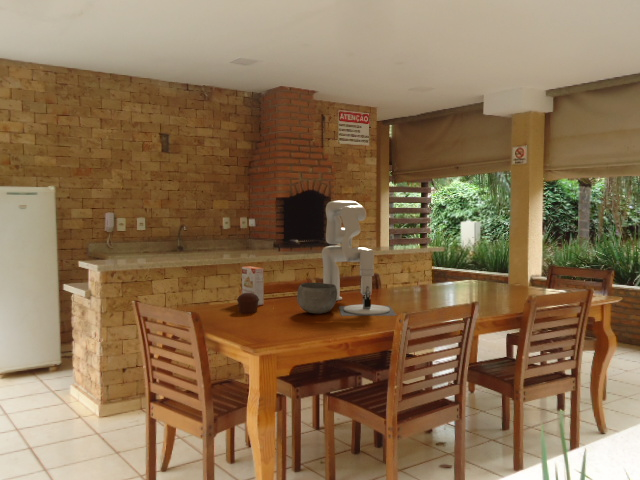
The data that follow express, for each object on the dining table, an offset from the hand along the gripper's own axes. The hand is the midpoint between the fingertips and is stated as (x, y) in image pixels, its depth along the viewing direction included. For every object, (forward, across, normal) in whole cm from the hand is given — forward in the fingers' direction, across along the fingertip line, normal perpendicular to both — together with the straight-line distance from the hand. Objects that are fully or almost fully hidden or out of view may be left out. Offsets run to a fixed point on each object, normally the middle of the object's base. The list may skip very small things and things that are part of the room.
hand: (366, 305), depth 311 cm
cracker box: (+4, -25, -62) cm, 67 cm away
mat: (+3, 0, 0) cm, 3 cm away
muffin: (+4, 0, -62) cm, 62 cm away
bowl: (+4, +4, -26) cm, 27 cm away
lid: (+3, 0, 0) cm, 3 cm away
